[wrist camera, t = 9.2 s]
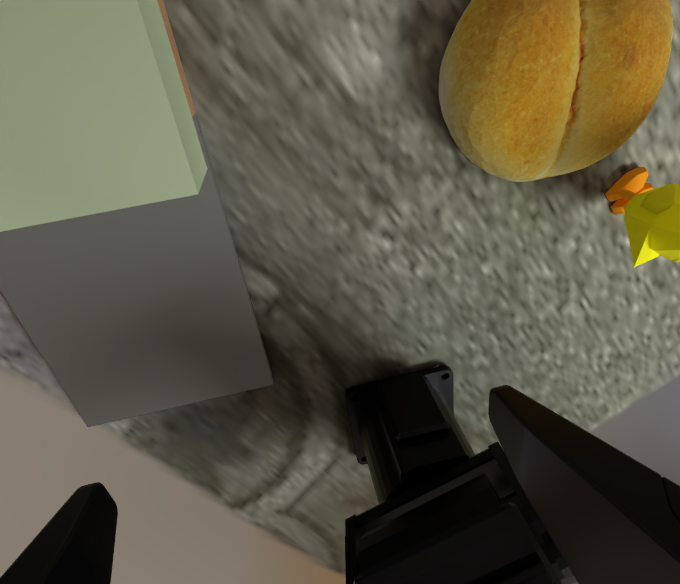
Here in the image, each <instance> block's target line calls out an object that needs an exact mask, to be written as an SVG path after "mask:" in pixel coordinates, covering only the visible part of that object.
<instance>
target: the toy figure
mask: <svg viewBox="0 0 680 584" xmlns="http://www.w3.org/2000/svg"><path fill="white" fill-rule="evenodd" d="M647 177H648V172H647V170H646V169H645V167H637V168H635V169H633V170H631V171H628V172H627V173H625V174H624V175H623V176H622V177H620V179H619V180H618V181H617V182H616V183H615V184H614V185H613V186H612V187H611V188H610V189H609V190H608V191H607V192H606V193H605V195H606V197H607V199H608V200H609V201H615V200H617V201H616V202H615V203H614V204H613V205H611V206H610V207H611V209H612V212H613V214H621V213H625V215H624V220H625V225H626V229H627V233H628V237H629V240H630V246H631V252H632V258H633V263H634V267H636V266H638V265H640V264H642V263H645V262H647V261H649V260H651V259H653V258H656V257H658V256H660V255H661V256H663V257H665V258H667V259H669V260H672V261H673V262H678V261H680V185H678V184H675V183H672V184H671V183H670V184H667V185H665V186H662V187H659V188H656V189H653V187H652V185H651V183H645V182H646V179H647Z"/></svg>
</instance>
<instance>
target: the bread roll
mask: <svg viewBox="0 0 680 584" xmlns="http://www.w3.org/2000/svg"><path fill="white" fill-rule="evenodd" d="M672 37H673V18H672V11H671V5H670V1H669V0H471V1H470V3H469V5H468V6H467V8H466V9H465V11H464V12H463V14H462V16H461V18H460V19H459V21H458V23H457V25H456V27H455V30H454V32H453V34H452V36H451V38H450V41H449V43H448V46H447V48H446V51H445V54H444V57H443V60H442V63H441V67H440V74H439V92H438V94H439V101H440V107H441V112H442V115H443V118H444V120H445V122H446V125H447V127H448V129H449V132H450V134H451V136H452V138H453V140H454V141H455V143H456V145H457V146H458V147H459V149H460V151H461V152H462V153H463V154H464V155H465V156H466V158H468V159H469V160H470V161H471V162H472V163H474V164H476V165H477V166H479V167H480V168H482V169H483V170H484V171H486V172H487V173H489V174H492V175H494V176H497V177H499V178H502V179H505V180H510V181H517V182H526V181H533V180H538V179H542V178H546V177H552V176H558V175H562V174H567V173H571V172H574V171H577V170H580V169H583V168H586V167H588V166H590V165H591V164H593V163H595V162H597V161H599V160H601V159H603V158H605V157H606V156H608V155H609V154H611V153H613V152H614V151H616V150H617V149H618V148H619V147H620V146H621V145H623V144H624V143H625V142H626V141H627V140H628V139H629V138H630V137H631V136H632V135H633V134H634V133H635V132H636V130H637V129H638V128H639V126H640V125H641V124H642V123H643V121H644V120H645V119H646V117H647V115H648V114H649V112H650V111H651V109H652V107H653V105H654V103H655V101H656V99H657V97H658V94H659V92H660V89H661V87H662V84H663V82H664V79H665V75H666V72H667V67H668V62H669V57H670V52H671V41H672Z"/></svg>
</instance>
